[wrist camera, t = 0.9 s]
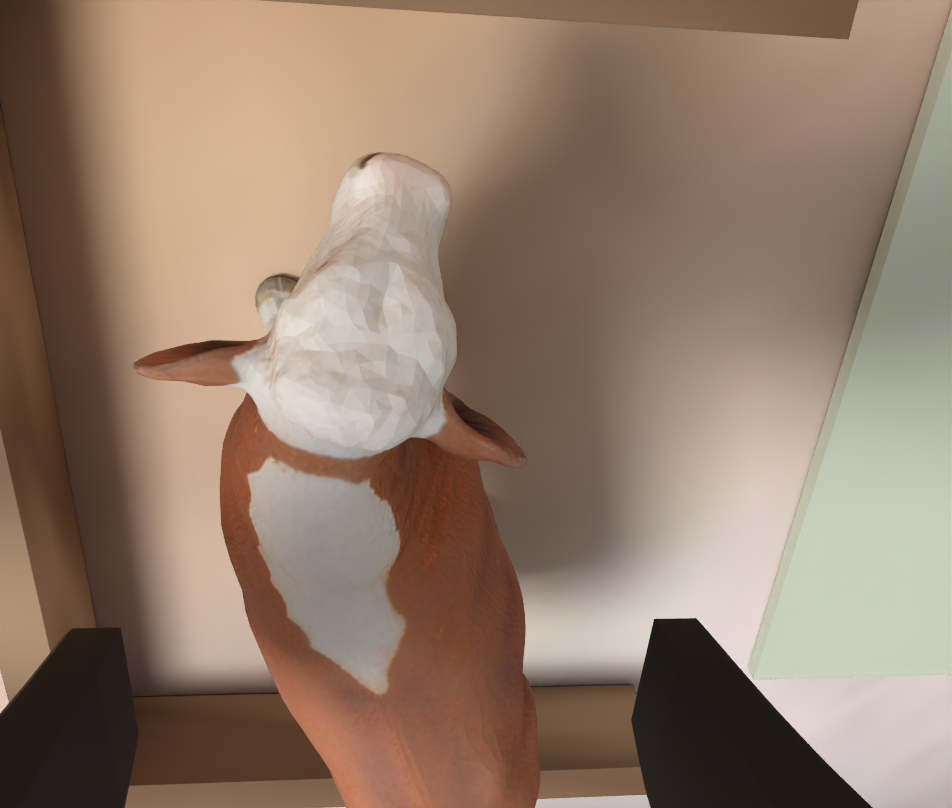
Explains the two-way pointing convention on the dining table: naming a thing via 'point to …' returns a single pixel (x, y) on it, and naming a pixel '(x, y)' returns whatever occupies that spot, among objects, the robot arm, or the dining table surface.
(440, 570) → the bull figurine
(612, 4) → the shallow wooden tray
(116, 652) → the robot arm
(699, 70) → the dining table surface
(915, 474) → the felt pad
